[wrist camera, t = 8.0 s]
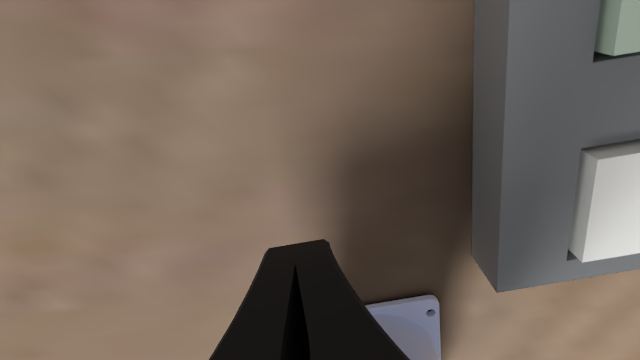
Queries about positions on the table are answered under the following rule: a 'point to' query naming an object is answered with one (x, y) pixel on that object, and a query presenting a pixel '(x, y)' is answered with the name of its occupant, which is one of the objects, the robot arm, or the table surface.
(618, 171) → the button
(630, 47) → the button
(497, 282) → the button housing
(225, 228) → the table surface
